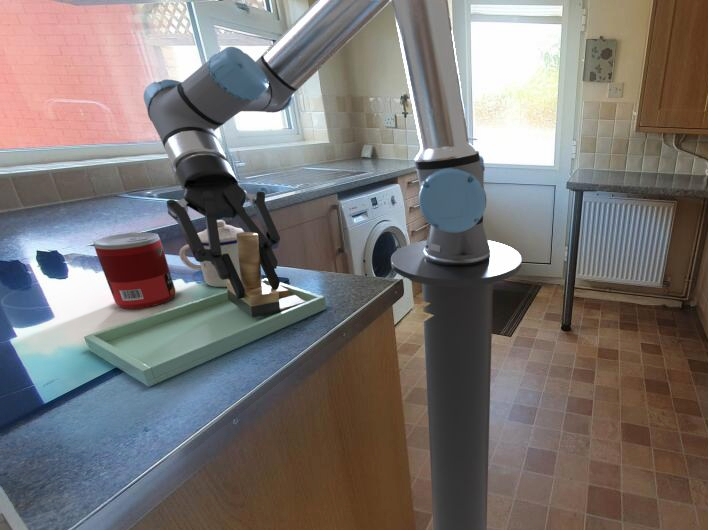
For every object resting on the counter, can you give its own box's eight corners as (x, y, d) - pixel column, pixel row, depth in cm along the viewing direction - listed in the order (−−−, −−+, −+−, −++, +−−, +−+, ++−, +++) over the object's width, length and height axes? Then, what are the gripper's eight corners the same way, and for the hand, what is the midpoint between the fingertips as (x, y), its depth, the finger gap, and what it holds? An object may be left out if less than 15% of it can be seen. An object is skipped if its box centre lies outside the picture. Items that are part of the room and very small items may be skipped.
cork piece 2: (296, 302, 70) (295, 294, 69) (307, 309, 68) (306, 301, 67) (271, 309, 67) (270, 301, 67) (282, 317, 65) (280, 309, 64)
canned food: (185, 297, 72) (167, 237, 67) (127, 314, 65) (103, 248, 61) (165, 287, 75) (146, 229, 71) (108, 302, 69) (84, 239, 65)
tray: (269, 289, 77) (266, 277, 76) (326, 308, 70) (325, 296, 69) (89, 350, 56) (83, 336, 55) (148, 387, 49) (142, 371, 48)
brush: (255, 295, 70) (249, 227, 67) (280, 312, 65) (275, 238, 61) (228, 299, 67) (220, 228, 64) (252, 317, 61) (245, 240, 58)
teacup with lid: (264, 269, 85) (252, 214, 81) (252, 286, 77) (238, 226, 73) (197, 273, 82) (181, 216, 78) (177, 291, 74) (158, 228, 70)
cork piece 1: (279, 292, 73) (279, 284, 73) (289, 298, 71) (289, 290, 71) (254, 295, 70) (254, 287, 70) (264, 302, 68) (264, 293, 68)
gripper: (258, 178, 75) (311, 286, 71) (136, 187, 63) (191, 317, 60) (263, 150, 70) (320, 265, 66) (130, 154, 58) (191, 295, 54)
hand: (259, 290), depth 63 cm, fingers closed on brush, 4 cm apart
